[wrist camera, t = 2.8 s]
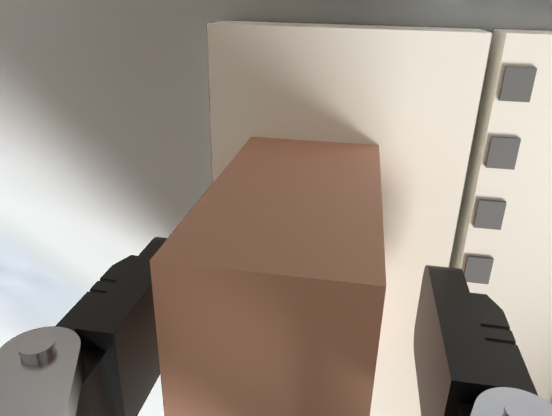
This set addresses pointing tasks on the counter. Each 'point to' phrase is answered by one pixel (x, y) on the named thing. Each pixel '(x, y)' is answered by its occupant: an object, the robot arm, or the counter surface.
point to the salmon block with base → (316, 218)
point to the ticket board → (513, 196)
